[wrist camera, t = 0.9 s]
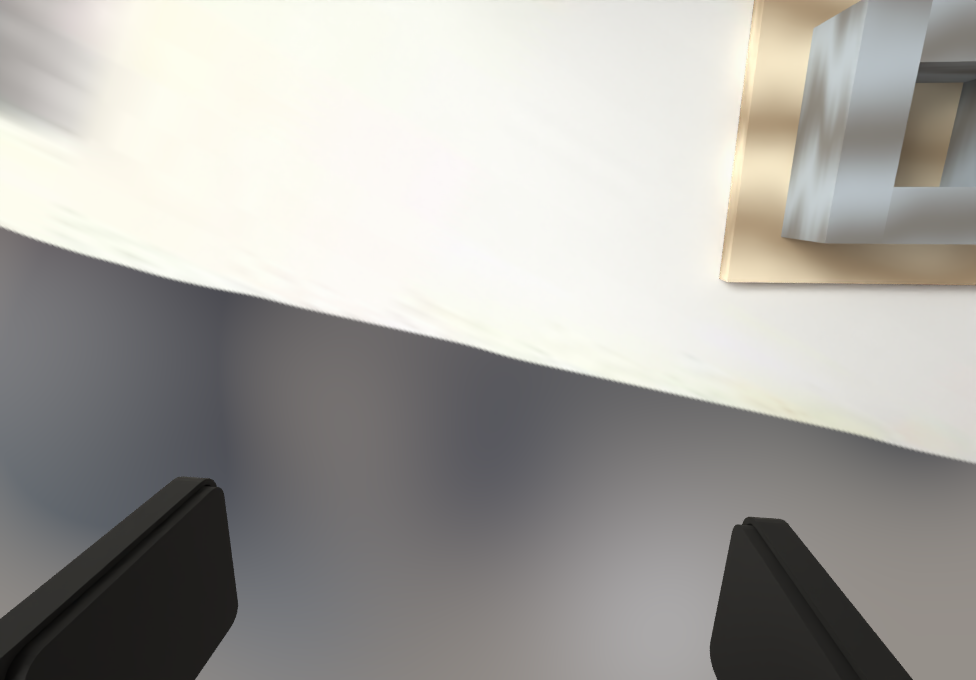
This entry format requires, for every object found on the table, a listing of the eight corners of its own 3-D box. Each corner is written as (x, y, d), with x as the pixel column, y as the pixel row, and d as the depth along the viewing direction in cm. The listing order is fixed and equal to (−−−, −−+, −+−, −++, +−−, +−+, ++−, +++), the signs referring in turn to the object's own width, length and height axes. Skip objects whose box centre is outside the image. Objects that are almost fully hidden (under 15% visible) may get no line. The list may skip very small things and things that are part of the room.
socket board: (756, -19, 30) (816, -76, 24) (1078, -28, 29) (1230, -90, 23) (719, 278, 35) (760, 295, 29) (993, 281, 34) (1099, 300, 28)
